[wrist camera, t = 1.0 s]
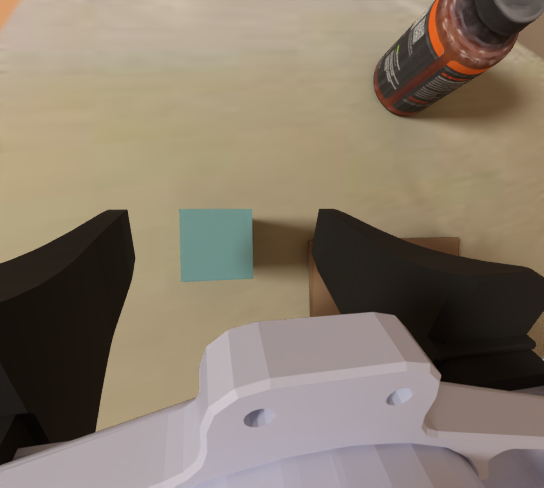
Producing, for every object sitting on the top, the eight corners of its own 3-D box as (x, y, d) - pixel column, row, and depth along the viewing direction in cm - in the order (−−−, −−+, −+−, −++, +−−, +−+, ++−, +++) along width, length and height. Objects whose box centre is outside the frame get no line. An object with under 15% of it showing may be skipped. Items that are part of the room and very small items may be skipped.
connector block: (239, 266, 26) (253, 278, 18) (189, 268, 25) (181, 281, 17) (238, 217, 26) (251, 209, 18) (188, 218, 25) (179, 209, 17)
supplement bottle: (437, 105, 29) (578, 24, 18) (385, 127, 28) (500, 55, 17) (414, 43, 29) (546, -81, 17) (360, 63, 28) (463, -55, 16)
